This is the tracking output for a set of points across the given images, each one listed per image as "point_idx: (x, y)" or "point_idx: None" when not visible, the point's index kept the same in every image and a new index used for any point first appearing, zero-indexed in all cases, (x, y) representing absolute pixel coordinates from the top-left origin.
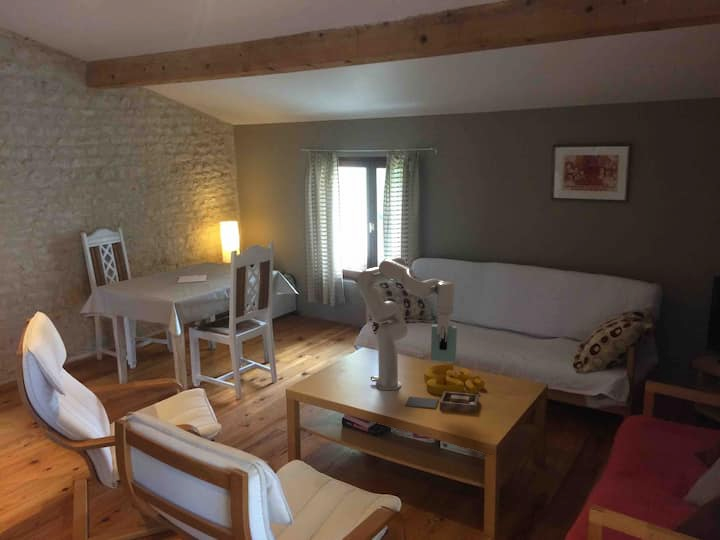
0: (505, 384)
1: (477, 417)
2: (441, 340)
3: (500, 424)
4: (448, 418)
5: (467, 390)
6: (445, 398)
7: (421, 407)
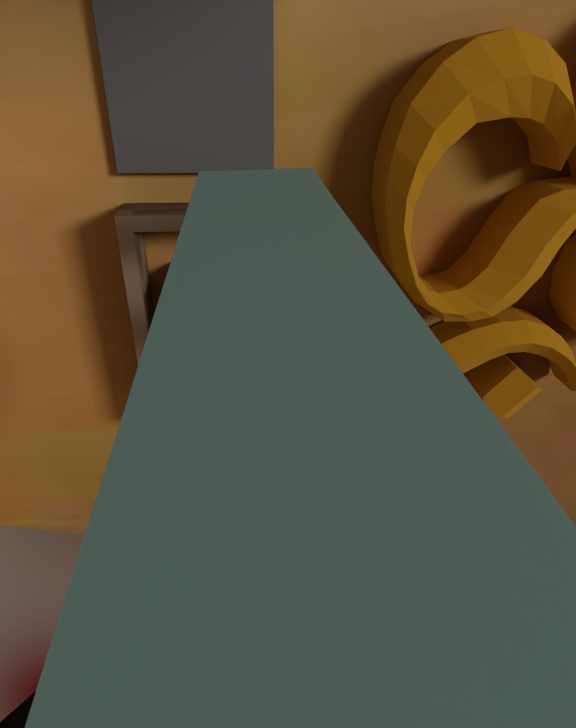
0: (538, 471)
1: (102, 414)
2: (22, 712)
3: (69, 505)
4: (14, 278)
5: (434, 329)
6: None
7: (102, 56)
